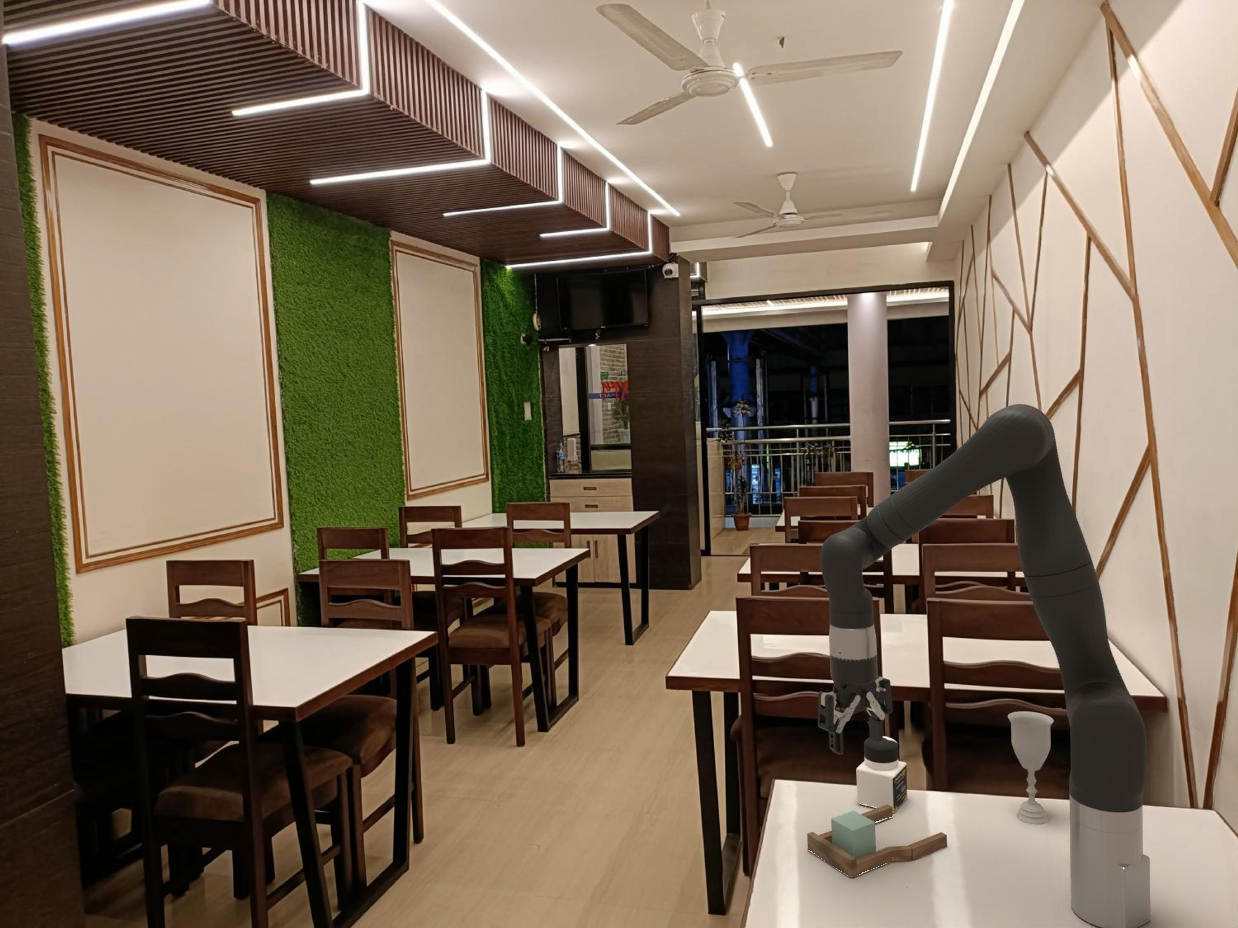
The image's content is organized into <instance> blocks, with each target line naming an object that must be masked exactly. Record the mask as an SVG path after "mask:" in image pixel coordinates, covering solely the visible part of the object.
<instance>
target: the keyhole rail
mask: <svg viewBox="0 0 1238 928" xmlns="http://www.w3.org/2000/svg"><path fill="white" fill-rule="evenodd" d="M860 814H861V815H863V816H865V817H866V818H868V819H870V820H872V821H874V822H876V821H879V820H882V819H885V818H889V817H892V816H893V817H894V813H893V807H891V806H890V805H888V804H887V805H885V806H882V807H879V808H876V809H874V808H873V809H872V810H869V811H866V812H863V813H860ZM806 835H807V837H806V839H807V841H806V842H807V851H808V850H810V851H812V852H813V853H815V854H816V855H817V856H819V857H820V858H822V859H823V860H825V861H826V862H827V863H826V862H825V863H826V864H828V863H829V864H830V865H829V864H828V865H829V866H831V865H832V866H834V867H835V868H837V869H838V870H840V871H842V872H843V873H845V874H846V875H848V876H849V877H851V878H852V877H855V876H857V875H859V874H861V873H862V872H865V871H867V870H871V869H873V868H876V867H878V866H881V865H883V864H885V863H889V862H891V863H893V862H892V861H903V862H912V861H915V859H916V860H918V859H920V858H922V856H923V857H925V856H927V855H930V854H932V852H933V853H934V851H935V852H937V851H940V850H942V849H944V848H947V847H948V836H947V835H948V834H946V833H944V832H938V833H935V834H933V835H930V836H928V837H926V838H923V839H921V840H918V841H916V842H913V843H911V844H908V845H897V846H896V845H895V846H894V845H893V846H886V847H884V848H880V849H879V850H876V852H873V853H871V854H868V855H866V856H863V857H861V858H858V859H856V858H855V857H853V856H852V855H850V854H848V853H847V852H845V851H843V850H842V849H840V848H838V847H837V846H835V845H834V844H832V830H829V831H826V832H824V833H821V834H817V833H816V832H814V831H810V832H808V833H806ZM817 856H816V857H817ZM820 858H819V859H820ZM823 860H822V861H823ZM911 860H912V861H911ZM889 864H890V863H889ZM832 866H831V867H832ZM834 867H833V868H834ZM835 868H834V869H835ZM837 869H836V870H837ZM838 870H837V871H838ZM840 871H839V872H840ZM842 872H841V873H842ZM843 873H842V874H843ZM845 874H844V875H845ZM846 875H845V876H846ZM848 876H847V877H848ZM859 876H860V875H859ZM849 877H848V878H849ZM857 877H858V876H857ZM851 878H850V879H851ZM855 878H856V877H855ZM852 879H853V878H852Z"/></svg>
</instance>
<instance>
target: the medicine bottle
mask: <svg viewBox="0 0 1238 928" xmlns="http://www.w3.org/2000/svg"><path fill="white" fill-rule="evenodd" d="M863 751H864V752H863V753H864V754H863V755H864V756H863V757H864V758H863V759H864V761H863V762H861V764H859V765H858V767H856V771H855V772H856V773H855V774H856V796H857V797H856V800H857V804H858V803H859V804H860V803H861V804H867V805H869V806H874V807H877V808H879V807H882V806H885V805H887V804H888V805H890V806H891V807H893V814H895V813H896V812H897V811H898V809H900V807H901V806H902V805H903V804H904V803H905V802H906V800H907V799H908V776H907V775H908V773H907V771H908V769H907V763H906V762H904V761H900V760H899V746H898V742H897V741H896V740H895V739H893V738H891V737H890V736H886V735H885V736H884V735H883V737H882V741H881V742H875V741H873V740H871V739H870V736H869V737H867V738H866V739H865V740H864V742H863ZM859 804H858V805H859Z"/></svg>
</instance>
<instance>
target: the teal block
mask: <svg viewBox="0 0 1238 928" xmlns="http://www.w3.org/2000/svg"><path fill="white" fill-rule="evenodd" d="M861 814H862V813H859V812H857V811H856V810H851V811H849V812H846V813H843V814H840V815H837V816H835V817H832V818H831V820H830V823H831V827H830V828H831V831H832V844H834V845H835V846H837V847H838V848H840V849H842V850H843V851H845V852H847V853H848V854H850V855H852V856H853V857H855V858H856V859H858V858H861V857H863V856H866V855H868V854H871V853H873V852H876V851H877V848H876V847H877V846H876V843H877V841H876V824H875V822H874V821H872V820H870V819H868V818H866V817H865V816H863V815H861Z"/></svg>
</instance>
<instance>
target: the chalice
mask: <svg viewBox="0 0 1238 928" xmlns="http://www.w3.org/2000/svg"><path fill="white" fill-rule="evenodd" d="M1007 718H1008V720H1009V722H1010V724H1011V725H1010V727H1011V728H1010V729H1011V730H1010V731H1011V734H1010V735H1011V746H1012V747H1013V751H1014V754H1015V756H1016V758H1017V759H1018V762H1019V763H1020V765H1021V766H1022V768H1023V769H1024V770H1027V773H1028V774H1027V778H1026V782H1027V783H1028V786H1027V788H1026V789H1025V791H1026V793H1027V795H1028V799H1027V800H1026V801H1023V802H1022V803H1021V804H1020V807H1019V808H1018V811H1017V813H1016V817H1017V818H1018V819H1019V820H1020V821H1023V822H1024V823H1028V824H1034V825H1041V824H1045V823H1047V822H1048V821H1049V818H1048V816H1047V814H1046V812H1045V810H1044V807H1043V806H1042V805H1041V804H1040V803H1039V802H1038V801H1036V798H1035V797H1036V794H1037V792H1038V790H1037V789H1036V787H1035V785H1036V783H1037V779H1036V776H1035V772H1036V771H1039V770H1041V768H1042V766H1043V765H1044V763H1045V761H1046V759H1047V757H1048V755H1049V752H1050V750H1051V745H1052V743H1051V726H1052V725H1053V723H1054V719H1053V718H1052V717H1051V716H1050V715H1047V714H1044V713H1040V712H1034V711H1014V712H1011V713H1009V714H1008V715H1007Z"/></svg>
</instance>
